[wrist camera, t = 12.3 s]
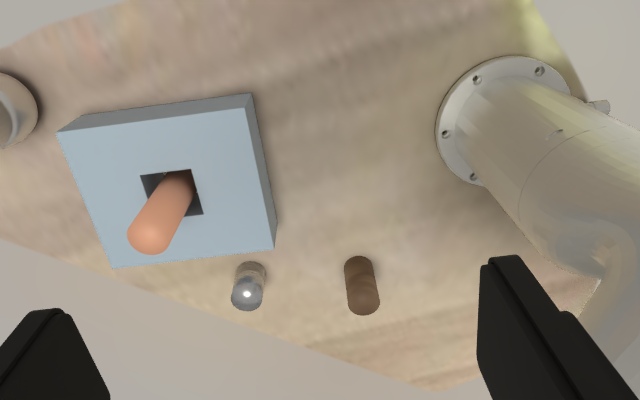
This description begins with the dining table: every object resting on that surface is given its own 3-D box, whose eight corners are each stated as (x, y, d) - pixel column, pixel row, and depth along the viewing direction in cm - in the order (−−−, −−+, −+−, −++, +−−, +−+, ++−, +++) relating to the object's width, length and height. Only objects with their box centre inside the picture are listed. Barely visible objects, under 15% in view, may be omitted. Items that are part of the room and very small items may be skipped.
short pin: (262, 259, 49) (258, 285, 45) (267, 282, 51) (264, 309, 47) (234, 263, 50) (227, 288, 46) (240, 285, 51) (234, 312, 47)
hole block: (251, 92, 41) (244, 107, 36) (277, 223, 47) (274, 249, 43) (82, 115, 42) (55, 132, 37) (130, 241, 48) (112, 268, 44)
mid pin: (371, 254, 49) (378, 288, 44) (373, 277, 51) (380, 313, 46) (342, 257, 50) (346, 292, 44) (345, 280, 51) (349, 317, 46)
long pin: (198, 156, 44) (163, 216, 33) (206, 185, 45) (175, 252, 35) (166, 160, 44) (121, 222, 33) (175, 189, 45) (134, 257, 35)
